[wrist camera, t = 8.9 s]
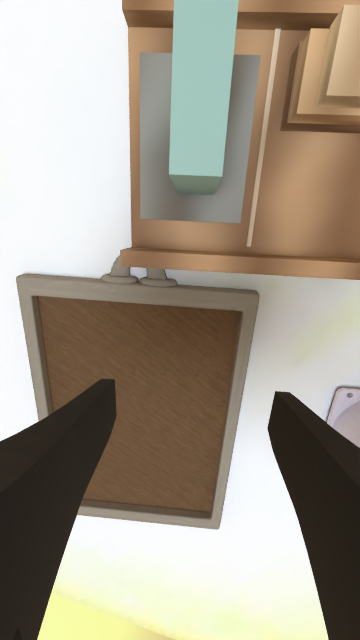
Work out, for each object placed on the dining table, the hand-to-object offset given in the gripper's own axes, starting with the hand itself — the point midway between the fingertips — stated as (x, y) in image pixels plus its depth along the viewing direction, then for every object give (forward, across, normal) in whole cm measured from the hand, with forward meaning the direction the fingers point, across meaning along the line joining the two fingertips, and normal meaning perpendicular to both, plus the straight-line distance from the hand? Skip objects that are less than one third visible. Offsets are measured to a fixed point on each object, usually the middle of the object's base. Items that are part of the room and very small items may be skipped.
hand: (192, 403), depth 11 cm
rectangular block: (+9, 0, -13) cm, 16 cm away
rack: (+10, -4, -12) cm, 16 cm away
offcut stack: (+10, -8, -15) cm, 20 cm away
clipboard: (+11, +5, +9) cm, 15 cm away
